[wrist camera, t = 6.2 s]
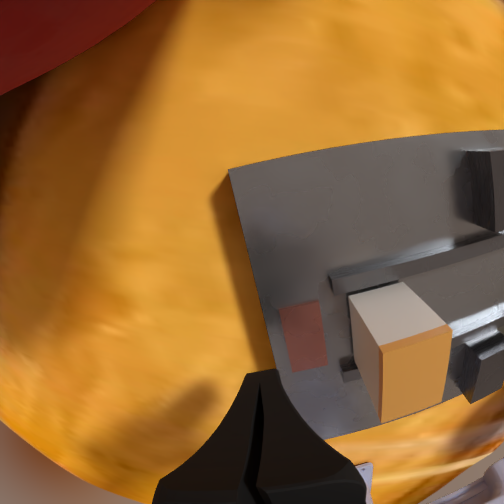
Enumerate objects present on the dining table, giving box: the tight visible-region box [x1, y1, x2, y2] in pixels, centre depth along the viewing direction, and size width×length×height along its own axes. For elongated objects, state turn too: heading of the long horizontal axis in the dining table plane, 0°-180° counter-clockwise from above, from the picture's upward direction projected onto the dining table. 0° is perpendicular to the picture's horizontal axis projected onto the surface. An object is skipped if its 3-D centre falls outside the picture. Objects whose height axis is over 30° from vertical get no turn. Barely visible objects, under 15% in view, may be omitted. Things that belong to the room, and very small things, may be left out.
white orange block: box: [348, 282, 453, 423], centre depth 13 cm, size 3×4×5 cm
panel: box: [228, 130, 504, 440], centre depth 15 cm, size 20×18×4 cm
